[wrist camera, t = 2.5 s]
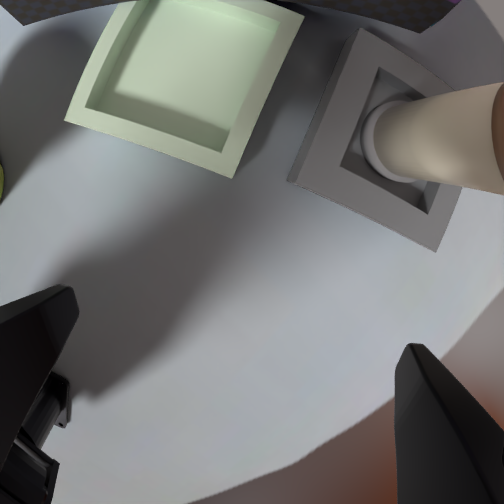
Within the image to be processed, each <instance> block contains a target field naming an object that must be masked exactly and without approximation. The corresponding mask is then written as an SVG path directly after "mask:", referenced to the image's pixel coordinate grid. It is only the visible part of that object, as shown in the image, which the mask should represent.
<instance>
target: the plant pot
mask: <svg viewBox="0 0 504 504" xmlns="http://www.w3.org/2000/svg"><path fill="white" fill-rule="evenodd" d="M3 184H4V173H3V169H2V167H1V164H0V199H1V196H2V192H3Z"/></svg>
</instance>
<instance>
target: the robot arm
mask: <svg viewBox="0 0 504 504" xmlns="http://www.w3.org/2000/svg"><path fill="white" fill-rule="evenodd" d="M78 316H79V308H78V304H77V301H76V297H75V293H74V290H73V288H72V287H70V286H67V285H64V284H58V285H55V286H53V287H50V288H47V289H45V290H42V291H39V292H37V293H34V294H31V295H29V296H26V297H23V298H21V299H18V300H16V301H13V302H10V303H8V304H5V305H3V306H0V504H51V501H52V498H53V493H54V488H55V483H56V478H57V474H58V469H59V465H60V463H58V462H57V461H56V460H55V459H52V458H50V457H49V456H48V455H47V454H45V453H44V452H43V451H42V450H41V448H42V446H43V444H44V442H45V440H46V438H47V437H48V435H49V433H50V431H51V429H52V427H53V425H56V426H59V427H61V428H65V427H66V425H67V412H68V395H69V382H68V381H67V380H66V379H65V378H63V377H61V376H59V375H57V374H55V373H53V372H51V370H52V368H53V367H54V365H55V363H56V361H57V360H58V358H59V356H60V354H61V352H62V350H63V347H64V345H65V343H66V341H67V339H68V337H69V335H70V333H71V331H72V329H73V327H74V325H75V323H76V321H77V319H78ZM62 383H63V384H62ZM394 413H395V414H394V430H395V446H396V464H397V501H398V502H397V503H398V504H504V431H503V429H502V428H501V427H500V426H499V425H498V424H497V423H496V422H495V420H494V419H493V418H492V417H491V416H490V415H489V414H488V412H486V410H485V409H484V408H483V407H482V406H481V405H480V404H479V402H478V401H477V400H476V399H475V398H474V397H473V396H472V395H471V394H470V393H469V392H468V390H467V389H465V387H464V386H463V385H462V384H461V383H460V382H459V381H458V380H457V379H456V378H455V377H454V375H453V374H452V373H451V372H450V371H449V370H448V369H447V368H446V367H445V366H444V365H443V364H442V363H441V362H440V361H439V360H438V359H437V358H436V357H435V356H434V355H433V354H432V353H431V351H430V350H429V349H428V348H427V347H426V346H425V345H423V344H417V343H409V344H407V345H406V347H405V349H404V351H403V353H402V355H401V357H400V360H399V362H398V364H397V366H396V369H395V412H394Z"/></svg>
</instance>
